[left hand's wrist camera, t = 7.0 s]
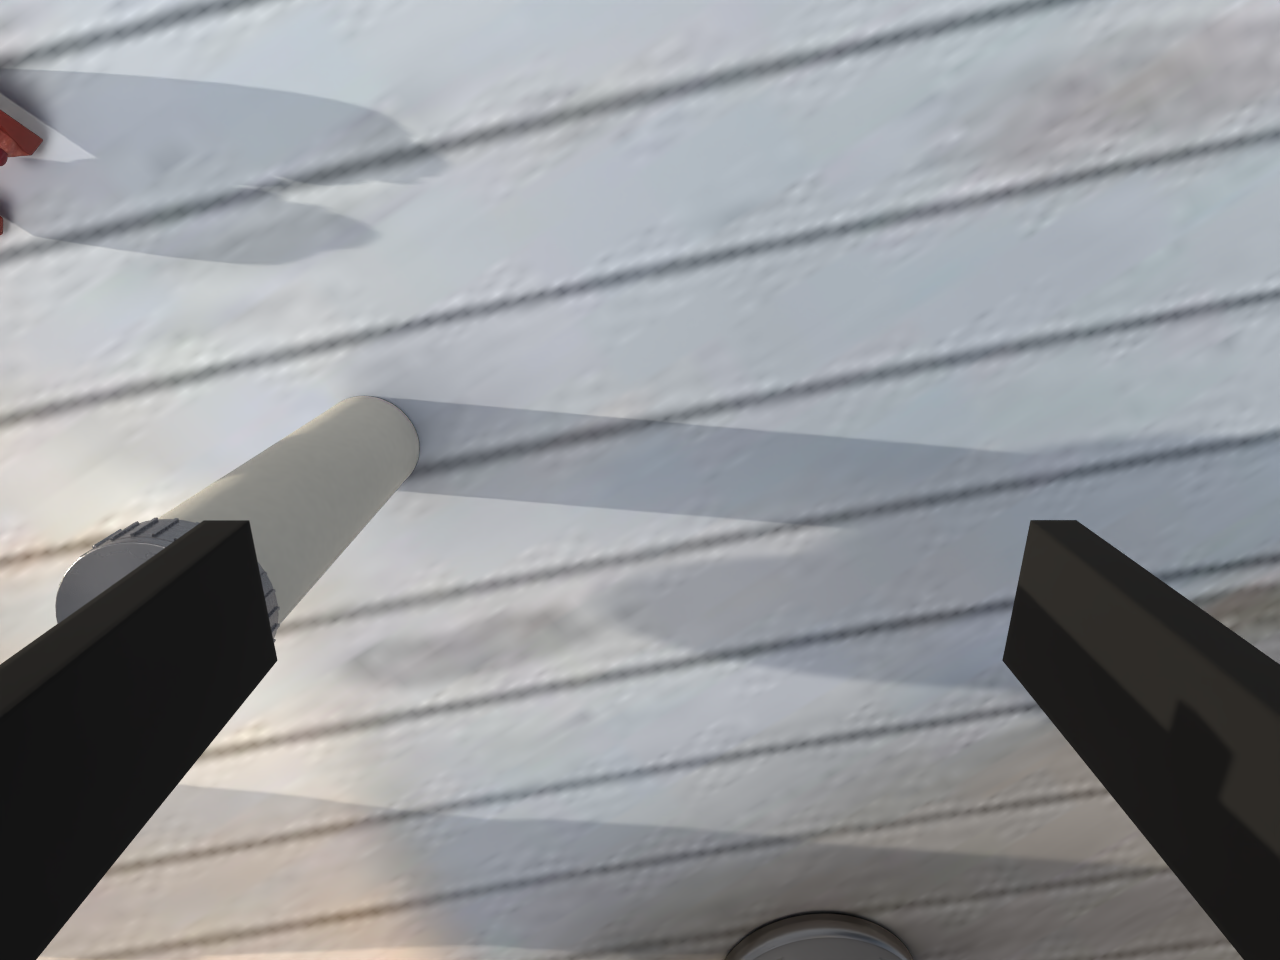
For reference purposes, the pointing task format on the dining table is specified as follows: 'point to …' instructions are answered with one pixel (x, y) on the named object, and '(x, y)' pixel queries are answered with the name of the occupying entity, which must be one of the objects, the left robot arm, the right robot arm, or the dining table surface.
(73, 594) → the lid
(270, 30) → the dining table surface
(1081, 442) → the dining table surface
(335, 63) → the dining table surface
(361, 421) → the bottle
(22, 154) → the dental model
